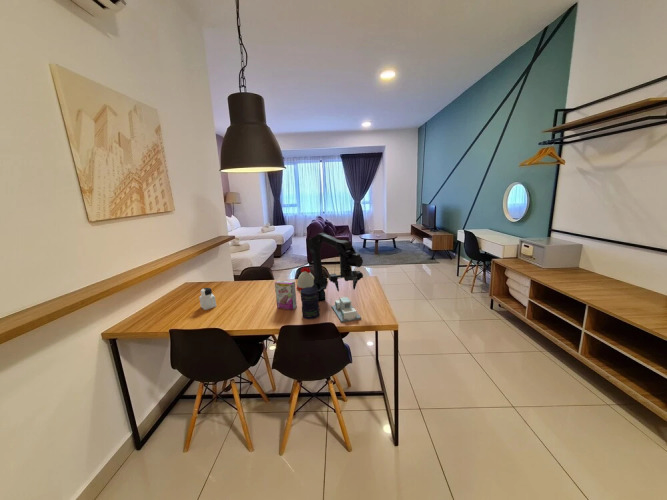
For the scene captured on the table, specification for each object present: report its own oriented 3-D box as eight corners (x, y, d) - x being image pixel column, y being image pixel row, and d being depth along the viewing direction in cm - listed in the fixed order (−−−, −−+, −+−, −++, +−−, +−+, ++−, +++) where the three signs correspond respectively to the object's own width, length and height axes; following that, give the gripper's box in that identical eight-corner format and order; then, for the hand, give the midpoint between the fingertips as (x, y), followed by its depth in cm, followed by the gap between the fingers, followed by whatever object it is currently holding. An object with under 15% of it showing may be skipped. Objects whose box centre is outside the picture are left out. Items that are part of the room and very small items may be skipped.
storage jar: (309, 310, 157) (307, 285, 154) (323, 313, 152) (321, 288, 149) (298, 317, 149) (296, 292, 145) (313, 321, 144) (311, 294, 140)
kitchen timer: (310, 291, 186) (308, 270, 183) (293, 289, 192) (291, 268, 188) (319, 284, 198) (318, 265, 195) (303, 282, 204) (302, 263, 201)
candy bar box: (276, 308, 161) (274, 282, 157) (280, 305, 166) (278, 279, 162) (293, 310, 157) (291, 284, 154) (297, 306, 162) (295, 281, 158)
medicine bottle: (212, 303, 173) (209, 285, 171) (216, 306, 168) (213, 288, 166) (200, 307, 168) (197, 289, 166) (204, 310, 163) (201, 291, 161)
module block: (343, 314, 147) (343, 302, 145) (340, 309, 154) (339, 297, 152) (351, 313, 148) (351, 301, 146) (347, 308, 155) (347, 296, 153)
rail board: (341, 322, 140) (340, 314, 139) (331, 307, 159) (331, 300, 158) (361, 319, 143) (360, 311, 142) (349, 304, 162) (349, 297, 161)
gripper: (332, 270, 139) (333, 298, 143) (366, 266, 143) (366, 293, 147) (327, 264, 150) (328, 290, 153) (359, 260, 154) (359, 286, 157)
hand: (346, 290), depth 152 cm, fingers open, 9 cm apart
